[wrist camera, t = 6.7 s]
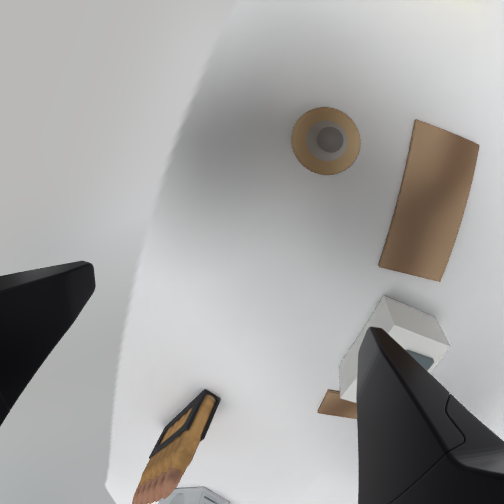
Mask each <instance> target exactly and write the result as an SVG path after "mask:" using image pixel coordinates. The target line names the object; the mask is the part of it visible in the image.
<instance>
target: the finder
mask: <svg viewBox="0 0 504 504" xmlns="http://www.w3.org/2000/svg"><path fill="white" fill-rule="evenodd" d="M369 327H378V328H382V329H383V330H385V331H386V332H387V333H388V334H389V335H390V336H391V337H392V338H393V339H394V340H395V341H396V342H397V343H398V344H399V345H401V346H402V347H403V348H404V349H405V350H406V351H407V352H408V353H409V354H410V355H411V356H412V357H413V358H414V359H415V360H416V361H417V362H418V363H419V364H421V365H422V366H423V367H424V368H425V369H426V370H427V371H428V372H429V373H431V371H432V370H433V369H434V368H435V366H436V365H437V364H438V363H439V361H440V360H441V359H442V357H443V356H444V355H445V354H446V352H447V351H448V350H449V348H450V347H451V346H450V344H449V342H448V340H447V338H446V336H445V335H444V333H443V331H442V329H441V327H440V325H439V323H438V322H437V320H436V318H435V317H433V316H431V315H429V314H426V313H424V312H422V311H419V310H417V309H415V308H412V307H410V306H408V305H405V304H403V303H401V302H398V301H396V300H393V299H391V298H389V297H386V296H384V295H383V297H382V299H381V301H380V302H379V304H378V306H377V307H376V309H375V311H374V312H373V314H372V315H371V317H370V319H369V320H368V322H367V323H366V325H365V327H364V328H363V330H362V331H361V333H360V334H359V336H358V337H357V339H356V341H355V342H354V344H353V345H352V347H351V348H350V350H349V351H348V352H347V354H346V355H345V357H344V358H343V360H342V361H341V363H340V364H339V379H340V398H341V399H344V400H348V401H351V402H355V403H356V390H357V371H358V352H359V349H360V346H361V344H362V341H363V339H364V336H365V334H366V331H367V329H368V328H369Z"/></svg>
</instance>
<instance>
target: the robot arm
mask: <svg viewBox="0 0 504 504" xmlns="http://www.w3.org/2000/svg"><path fill="white" fill-rule="evenodd" d="M94 290H95V276H94V268H93V265H92V264H91V263H89V262H85V261H78V262H73V263H67V264H62V265H56V266H51V267H46V268H40V269H35V270H29V271H24V272H19V273H14V274H9V275H3V276H0V426H1V424H2V423H3V421H4V420H5V418H6V416H7V415H8V413H9V412H10V409H11V408H12V407H13V405H14V404H15V402H16V401H17V399H18V397H19V396H20V394H21V393H22V392H23V390H24V389H25V387H26V386H27V384H28V383H29V382H30V380H31V379H32V377H33V376H34V374H35V373H36V372H37V370H38V369H39V367H40V366H41V365H42V363H43V362H44V361H45V359H46V358H47V357H48V355H49V354H50V353H51V351H52V350H53V349H54V347H55V346H56V345H57V343H58V342H59V341H60V339H61V338H62V337H63V336H64V334H65V333H66V332H67V330H68V329H69V328H70V326H71V325H72V324H73V323H74V321H75V320H76V318H77V317H78V315H79V313H80V312H81V310H82V309H83V307H84V306H85V304H86V303H87V301H88V300H89V298H90V297H91V295H92V294H93V292H94ZM356 405H357V424H358V457H359V492H358V504H504V441H503V440H501V439H500V438H499V437H498V436H497V435H496V434H494V433H493V432H492V431H491V430H490V429H489V428H487V427H486V426H485V425H484V424H483V423H481V422H480V421H479V420H478V419H477V418H476V417H475V416H474V415H472V414H471V413H470V412H469V411H468V410H467V409H466V408H465V407H464V406H463V405H462V404H461V403H460V402H458V401H457V400H456V399H455V398H454V397H453V396H452V395H451V394H449V392H448V391H447V390H446V389H445V388H444V387H443V386H442V385H441V384H440V383H439V382H438V381H437V380H436V379H435V378H434V377H433V376H432V375H431V374H430V373H429V372H428V371H427V370H426V369H425V368H424V367H423V366H422V365H421V364H419V363H418V362H417V361H416V360H415V359H414V358H413V357H412V356H411V355H410V354H409V353H408V352H407V351H406V350H405V349H404V348H403V347H402V346H401V345H399V344H398V343H397V342H396V341H395V340H394V339H393V338H392V337H391V336H390V335H389V334H388V333H387V332H386V331H385V330H383V329H382V328H378V327H369V328H368V329H367V331H366V334H365V336H364V339H363V341H362V344H361V346H360V349H359V352H358V371H357V390H356Z"/></svg>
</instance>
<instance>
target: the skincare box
mask: <svg viewBox="0 0 504 504" xmlns="http://www.w3.org/2000/svg"><path fill="white" fill-rule="evenodd" d="M229 503H230V502H229V501H227V500H225V499H223V498H221V497H220V496H218V495H216V494H215V493H213V492H211V491H210V490H208V489H207V488H205V487H195V488H178V489H175V490H174V491H173V492H172V493H171V494H170V495H169V496H168V497H167V498H166V499H160V501H159V504H229Z"/></svg>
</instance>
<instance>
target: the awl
mask: <svg viewBox="0 0 504 504" xmlns="http://www.w3.org/2000/svg"><path fill="white" fill-rule="evenodd" d="M292 148H293V151H294V153H295V156H296V157H297V159H298V160H299V162H300V163H301V164H302V165H303V166H304V167H306V168H307V169H309V170H310V171H312V172H314V173H317V174H322V175H333V174H338V173H340V172H342V171H344V170H346V169H347V168H349V167H350V166H351V165H352V164H353V163H354V161H355V160H356V158H357V156H358V154H359V150H360V135H359V131H358V129H357V127H356V125H355V123H354V122H353V121H352V119H351V118H350V117H349V116H347V115H346V114H345V113H343V112H341V111H339V110H337V109H334V108H328V107H321V108H315V109H312V110H310V111H308V112H306V113H305V114H304V115H302V116H301V117H300V118H299V120H298V121H297V122H296V124H295V126H294V128H293V132H292Z"/></svg>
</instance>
